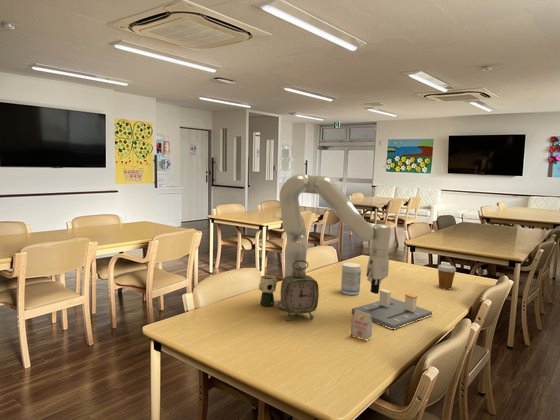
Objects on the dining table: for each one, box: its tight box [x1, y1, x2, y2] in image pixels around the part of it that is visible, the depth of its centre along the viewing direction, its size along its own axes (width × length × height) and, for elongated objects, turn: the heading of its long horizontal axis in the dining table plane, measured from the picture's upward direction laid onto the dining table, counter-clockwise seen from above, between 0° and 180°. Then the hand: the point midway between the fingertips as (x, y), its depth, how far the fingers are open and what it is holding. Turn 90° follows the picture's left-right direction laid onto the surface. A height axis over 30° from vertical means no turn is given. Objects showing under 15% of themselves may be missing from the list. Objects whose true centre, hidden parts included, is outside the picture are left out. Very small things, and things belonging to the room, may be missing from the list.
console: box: [351, 297, 433, 329], centre depth 180 cm, size 28×22×2 cm
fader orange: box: [404, 293, 418, 312], centre depth 179 cm, size 3×4×7 cm, turn 38°
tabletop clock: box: [280, 260, 320, 322], centre depth 171 cm, size 14×9×25 cm, turn 105°
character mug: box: [258, 274, 278, 307], centre depth 185 cm, size 11×7×13 cm, turn 136°
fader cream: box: [378, 288, 392, 307], centre depth 184 cm, size 3×4×7 cm, turn 38°
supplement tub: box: [340, 262, 362, 296], centre depth 208 cm, size 10×10×15 cm
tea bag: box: [350, 310, 373, 339], centre depth 155 cm, size 4×7×10 cm, turn 52°
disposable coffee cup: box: [437, 263, 457, 290], centre depth 223 cm, size 10×10×12 cm
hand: (374, 292), depth 180 cm, fingers closed
